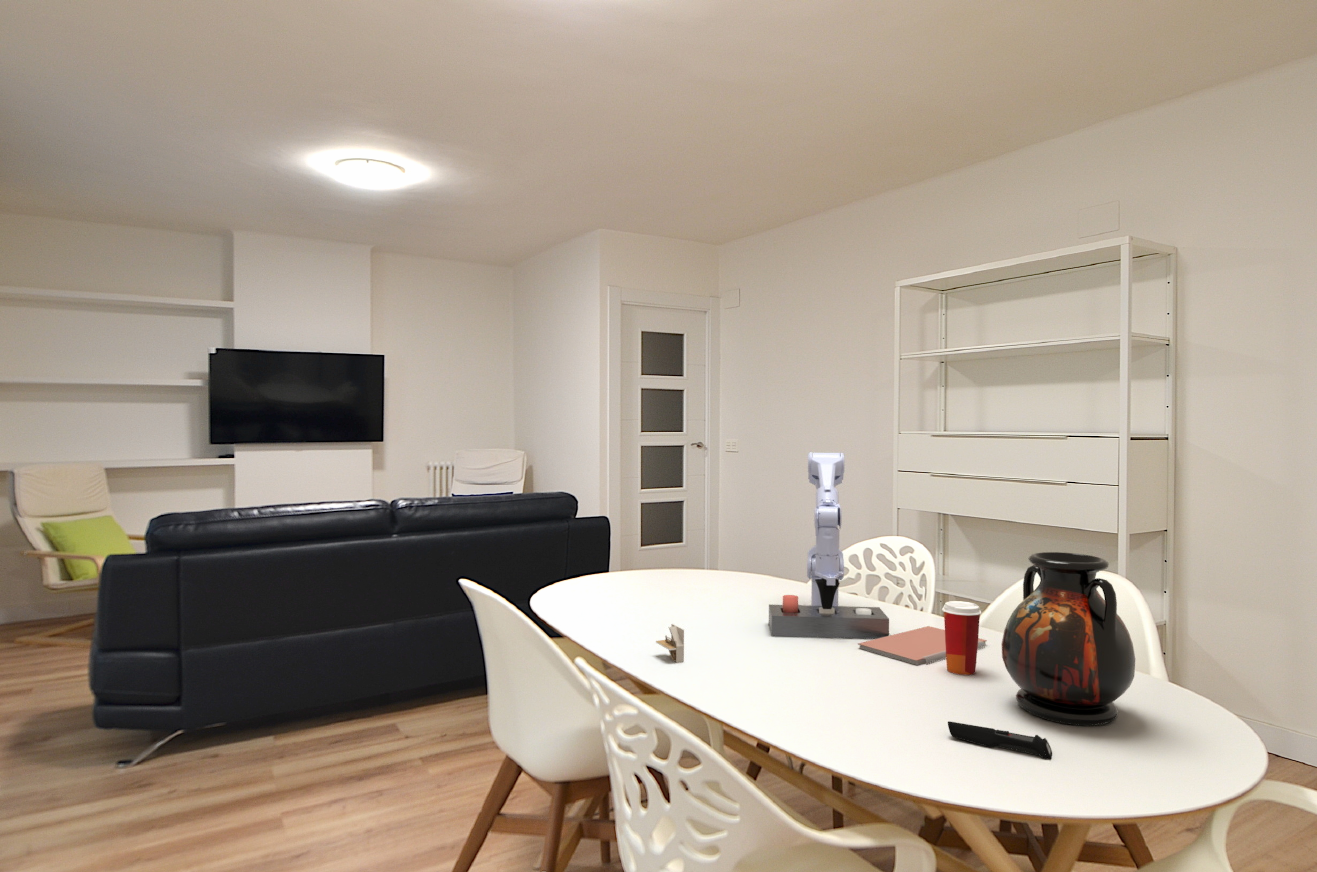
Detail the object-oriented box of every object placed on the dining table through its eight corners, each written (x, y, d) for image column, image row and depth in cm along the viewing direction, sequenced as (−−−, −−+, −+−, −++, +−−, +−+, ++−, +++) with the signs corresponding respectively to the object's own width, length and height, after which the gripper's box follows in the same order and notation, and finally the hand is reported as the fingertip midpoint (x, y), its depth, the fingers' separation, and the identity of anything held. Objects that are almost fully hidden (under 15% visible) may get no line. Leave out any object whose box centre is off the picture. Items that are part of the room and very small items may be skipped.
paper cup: (974, 665, 169) (975, 600, 169) (985, 677, 161) (986, 609, 161) (936, 664, 170) (937, 599, 169) (946, 675, 162) (947, 608, 162)
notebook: (920, 669, 168) (920, 660, 168) (857, 650, 181) (857, 642, 181) (990, 648, 184) (991, 639, 184) (928, 632, 198) (928, 624, 197)
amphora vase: (975, 698, 149) (977, 551, 148) (1060, 685, 156) (1063, 545, 156) (1071, 741, 129) (1073, 571, 128) (1164, 724, 136) (1167, 563, 136)
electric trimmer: (950, 735, 132) (949, 716, 132) (1052, 753, 125) (1052, 733, 125) (945, 742, 129) (945, 723, 129) (1051, 762, 121) (1050, 742, 121)
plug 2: (854, 627, 197) (854, 607, 197) (869, 627, 197) (869, 608, 197) (856, 631, 194) (857, 611, 194) (872, 631, 193) (872, 611, 193)
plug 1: (818, 626, 198) (818, 606, 198) (833, 626, 198) (833, 606, 198) (819, 630, 194) (820, 609, 194) (835, 630, 194) (835, 610, 194)
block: (768, 623, 203) (768, 604, 203) (878, 626, 201) (879, 607, 201) (771, 636, 191) (771, 615, 191) (888, 639, 189) (889, 618, 189)
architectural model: (670, 666, 169) (670, 631, 169) (655, 657, 175) (656, 624, 175) (684, 664, 170) (684, 629, 170) (669, 655, 177) (669, 622, 176)
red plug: (782, 614, 199) (782, 594, 199) (797, 614, 199) (797, 595, 198) (783, 618, 195) (783, 597, 195) (798, 618, 195) (798, 598, 195)
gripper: (848, 559, 188) (847, 615, 188) (839, 549, 203) (838, 602, 203) (818, 558, 189) (818, 615, 189) (811, 549, 203) (811, 601, 204)
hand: (826, 608), depth 196 cm, fingers closed, pressing on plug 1
